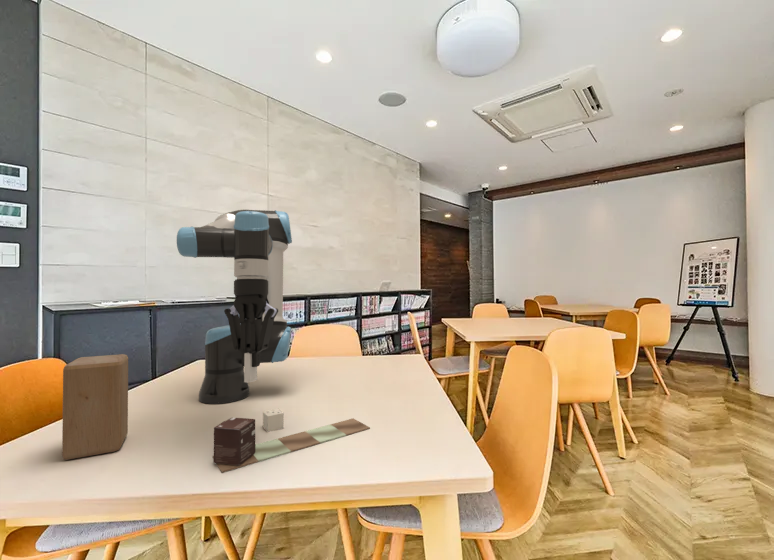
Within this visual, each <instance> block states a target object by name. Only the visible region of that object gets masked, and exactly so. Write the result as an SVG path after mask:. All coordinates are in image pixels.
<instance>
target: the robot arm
mask: <svg viewBox="0 0 774 560" xmlns="http://www.w3.org/2000/svg"><path fill="white" fill-rule="evenodd" d="M290 222H291V221H290V217H289V214H288V212H286V211H282V210H266V209H265V210H264V209H263V210H260V209H259V210H258V209H238V210H233V211H228V212H226V213H222V214H220V215H219V216H217V217H216V218H215V219H214V221H213V222H210V223H208V224H205V225H203V226H199V227H195V226H184V227H180V228H179V229H178V231H177V234H176V247H177V250H178V253H179V255H180V256H181V257H184V258H185V257H187V258H233V259H234V261H233V264H234V265H233V270H234V271H233V276H234V277H235V278H236V279H234V280H233V294H234V296H235V298H234V300H233V305H232V306H231V307H229V308H225V309H224V314H225V316H226V318H227V319H228V320H227V321H228V325H223V326H218V327H213V328H210V329H208V330H207V332H206V333H205V342H204V355H205V356H204V366H205V367H204V370H205V371H204V378H203V380H202V383H201V386H200V388H199V389H200V390H199V392H198V401H199V402H200V403H203V404H211V405H212V404H213V405H216V404H218V405H219V404H226V403H233V402H237V401H241V400H244V399H245V398H247V397H248V396H249V395H250V385H249V383H253V382H256V381H257V380H258V367H259V366H260V364H269V363H271V364H273V363H280V362H281V363H282V362H284V361H286V360H287V358H288V355H289V349H290V344H291V343H290V342H291V336H292V327H290V326H288V322H287V320H286V319H285V318H284V316H283V313H284V312H283V309H284V308H283V306H284V305H283V304H284V298H283V297H284V252H285V251H287V250H288V248H289V244H292V243H293V238H292V230H291V223H290Z"/></svg>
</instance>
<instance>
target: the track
mask: <svg viewBox="0 0 774 560" xmlns="http://www.w3.org/2000/svg"><path fill="white" fill-rule="evenodd" d="M370 429H371V427H370V426H368V425H366V424H365V423H364V422H363V423H362V422H361V421H359V420H357V419H356V418H354V417H353V418H349V419H346V420H342V421H341V420H340V421H337V422H335V423H331V424H327V425H324V426H319V427H315V428H312V429H308V430H304V431H300V432H297V433H293V434H290V435H286V436H281V437H279V438H274V439H271V440H267V441H263V442H260V443H255V449H256V452H255V453H254V454H253V455H252V456H251V457H250V458H248V459H247V460H246V461H245V462H243V463H242V464H241V465H229V464H218V463H215V464H216V465H217V468H218V470H219V471H220V473H221V474H223V473H227V472H230V471H232V470H236V469H240V468H243V467H246V466H250V465H252V464H256V463H260V462H263V461H267V460H270V459H273V458H276V457H280V456H282V455H286V454H287V455H288V454H289V453H294V452H296V451H300V450H303V449H307V448H310V447H313V446H317V445H320V444H324V443H327V442H330V441H333V440H337V439H340V438H343V437H346V436H350V435H354V434H356V433H360V432H364V431H366V430H370ZM212 459H213V460H214V455H212Z"/></svg>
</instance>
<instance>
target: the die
mask: <svg viewBox="0 0 774 560" xmlns="http://www.w3.org/2000/svg"><path fill="white" fill-rule="evenodd" d="M284 414H285V413H284V412H283V411H282V410H281V409H279V408H274V409H268V410H264V411H262V428H263V429H264V430H265V431H266V432H267V433H270V432H274V431H278V430H283V429H285V427H284V422H285V421H284V420H285V419H284Z"/></svg>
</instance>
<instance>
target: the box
mask: <svg viewBox="0 0 774 560" xmlns="http://www.w3.org/2000/svg"><path fill="white" fill-rule="evenodd" d="M255 444H256V418H244V417H230V418H228V419H227V420H224V421H222V422H220V423H219V424H217V425H216V426H214V427H213V456H214V459H213V463H214V464H216V463H218V464H229V465H241V464H242V463H243V462H245V461H246V460H247V459H248V458H250V457H251V456H252V455H253V454H254V453H255V452H256V449H255Z"/></svg>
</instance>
